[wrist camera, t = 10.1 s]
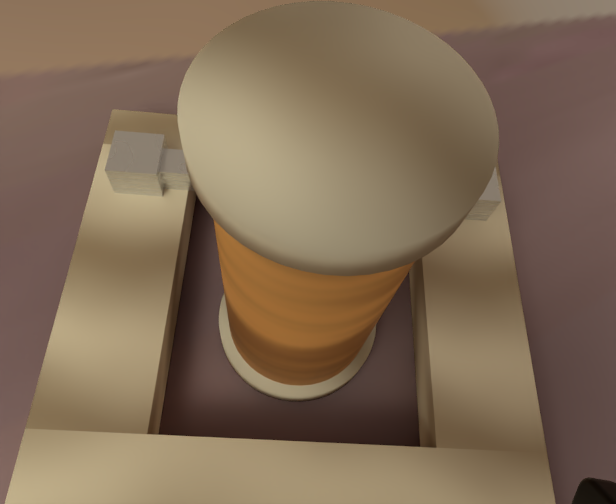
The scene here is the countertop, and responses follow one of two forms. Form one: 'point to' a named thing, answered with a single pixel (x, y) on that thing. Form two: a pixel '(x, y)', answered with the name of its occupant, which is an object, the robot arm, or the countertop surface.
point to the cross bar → (173, 175)
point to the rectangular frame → (272, 453)
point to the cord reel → (327, 178)
